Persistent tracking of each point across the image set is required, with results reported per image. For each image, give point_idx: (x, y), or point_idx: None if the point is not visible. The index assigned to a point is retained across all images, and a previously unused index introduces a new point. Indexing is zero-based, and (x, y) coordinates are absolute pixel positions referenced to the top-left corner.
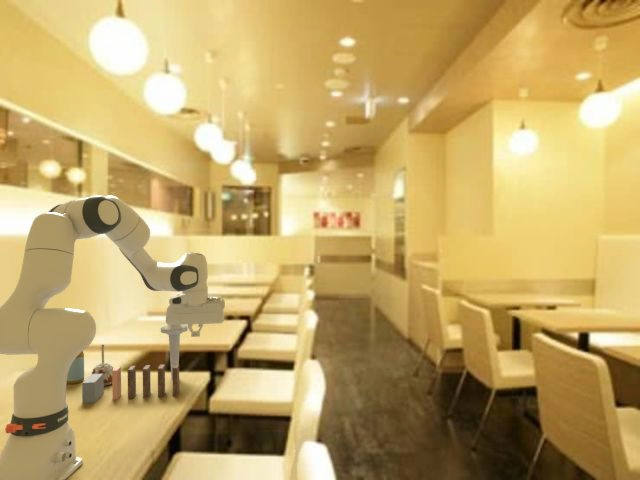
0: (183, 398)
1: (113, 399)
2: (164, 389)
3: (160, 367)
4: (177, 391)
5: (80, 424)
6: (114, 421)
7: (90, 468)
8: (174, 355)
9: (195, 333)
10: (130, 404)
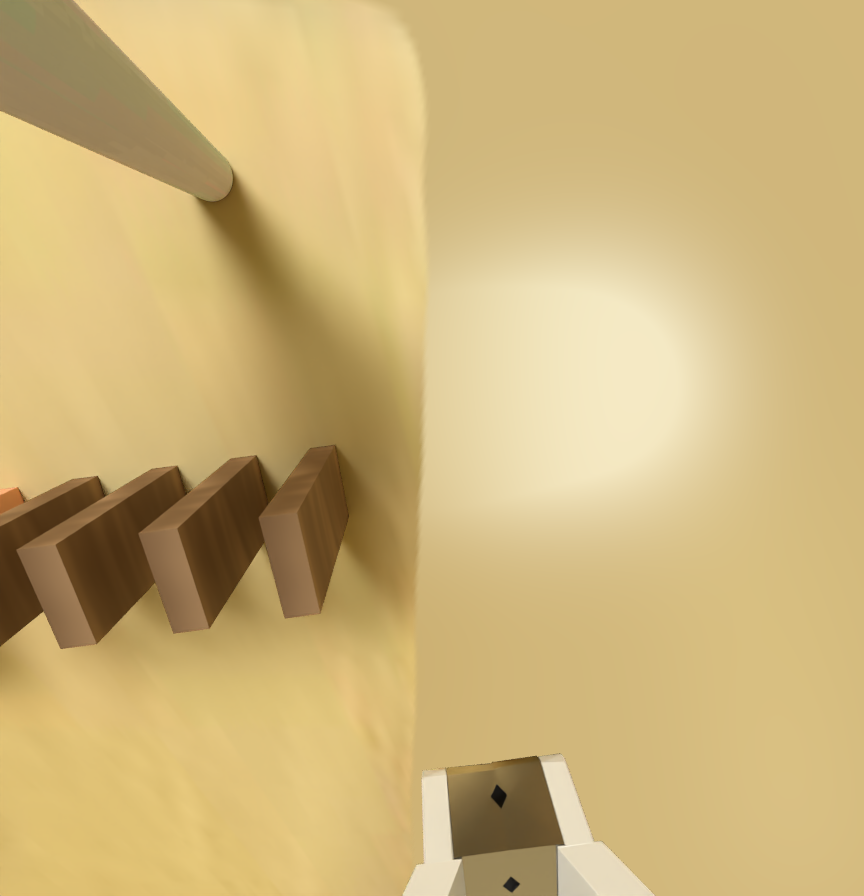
0: (391, 551)
1: None
2: (253, 479)
3: (183, 610)
4: (345, 524)
5: (79, 796)
6: (196, 773)
7: None
8: (105, 145)
9: (511, 881)
10: (159, 620)
